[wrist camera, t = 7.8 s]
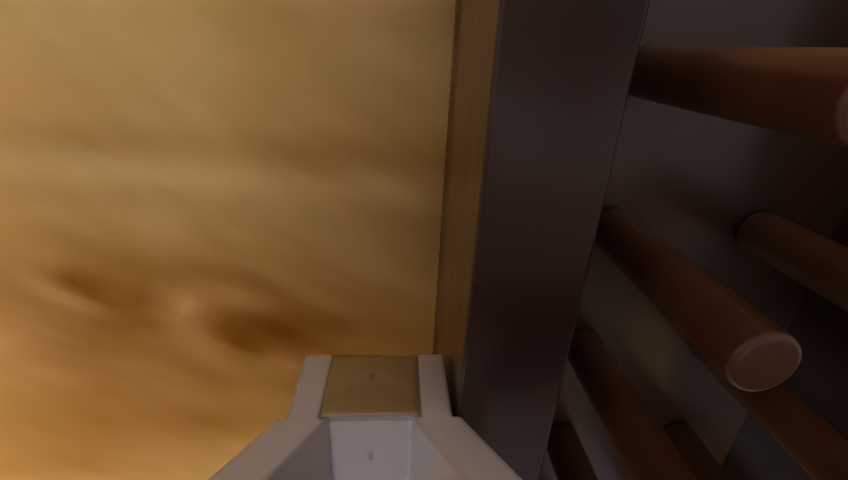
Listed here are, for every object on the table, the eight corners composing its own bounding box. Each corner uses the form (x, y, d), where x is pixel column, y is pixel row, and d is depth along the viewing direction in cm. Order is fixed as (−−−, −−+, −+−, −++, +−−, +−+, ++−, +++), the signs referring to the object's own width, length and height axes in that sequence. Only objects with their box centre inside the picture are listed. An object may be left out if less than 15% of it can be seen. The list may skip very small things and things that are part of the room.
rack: (421, 519, 14) (433, 758, 9) (458, -63, 7) (563, -238, 3) (710, 512, 15) (855, 731, 10) (982, -30, 8) (1781, -125, 3)
